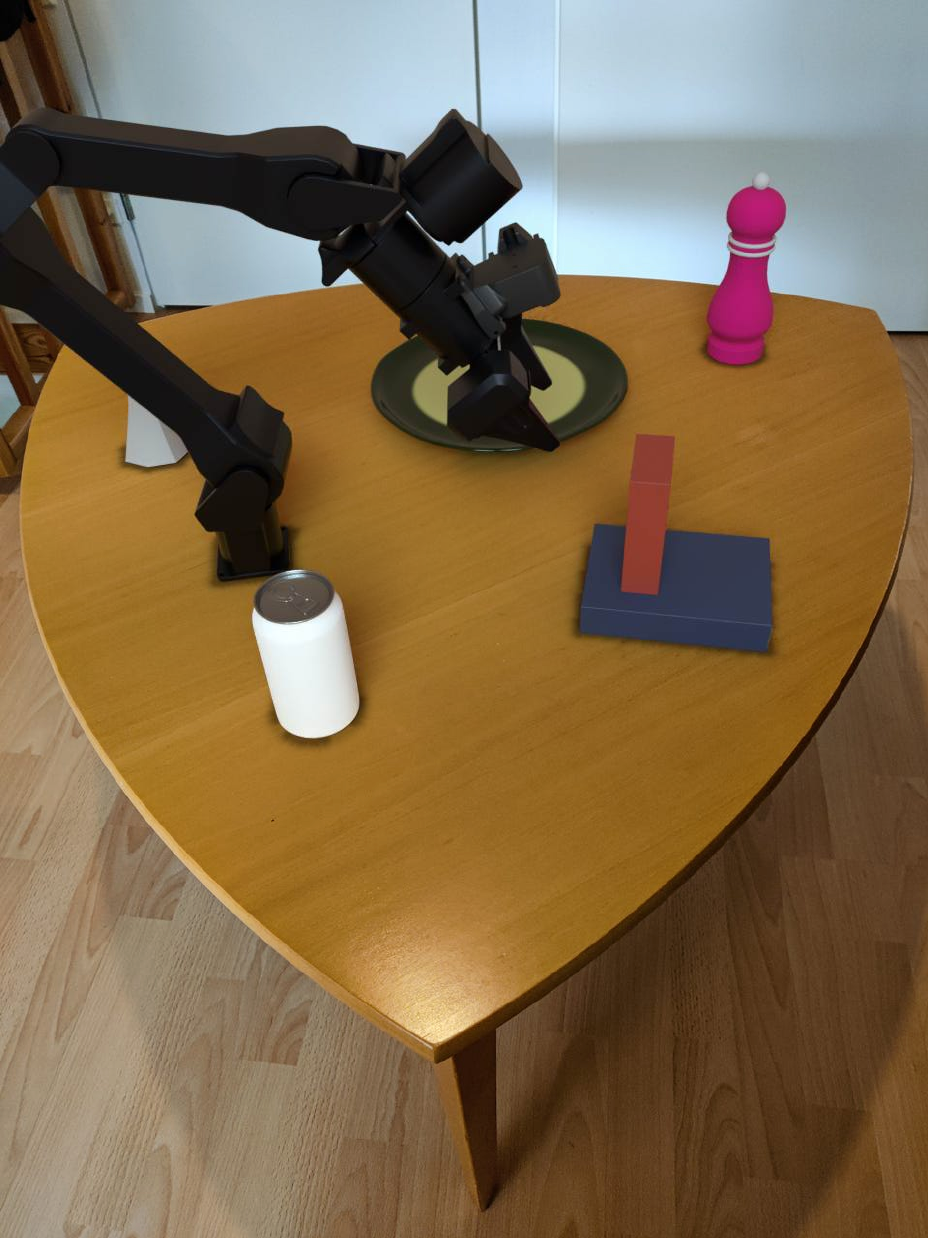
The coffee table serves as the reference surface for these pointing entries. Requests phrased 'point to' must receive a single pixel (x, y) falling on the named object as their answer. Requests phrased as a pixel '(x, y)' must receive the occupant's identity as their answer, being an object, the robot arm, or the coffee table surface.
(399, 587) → the coffee table surface
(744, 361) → the pepper mill
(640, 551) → the red rectangular block
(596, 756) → the coffee table surface
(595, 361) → the plate
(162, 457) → the flask
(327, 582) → the can
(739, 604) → the navy hardcover
